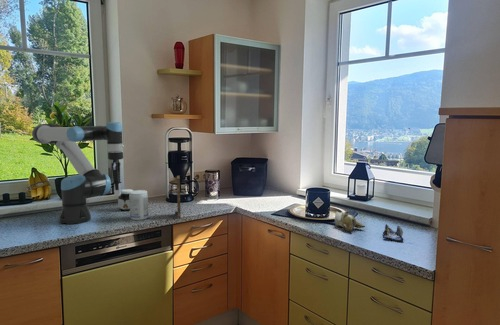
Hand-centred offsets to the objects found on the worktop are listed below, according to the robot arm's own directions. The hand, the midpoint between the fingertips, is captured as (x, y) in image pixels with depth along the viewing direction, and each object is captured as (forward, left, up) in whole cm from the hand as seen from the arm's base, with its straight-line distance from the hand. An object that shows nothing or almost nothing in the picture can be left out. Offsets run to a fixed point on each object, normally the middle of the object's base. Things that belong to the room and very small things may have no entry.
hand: (117, 195), depth 197 cm
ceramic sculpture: (+114, -38, -13) cm, 121 cm away
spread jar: (+4, +22, -13) cm, 26 cm away
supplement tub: (+11, 0, -13) cm, 17 cm away
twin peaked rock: (+128, -56, -14) cm, 141 cm away
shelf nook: (+30, 0, -13) cm, 33 cm away
